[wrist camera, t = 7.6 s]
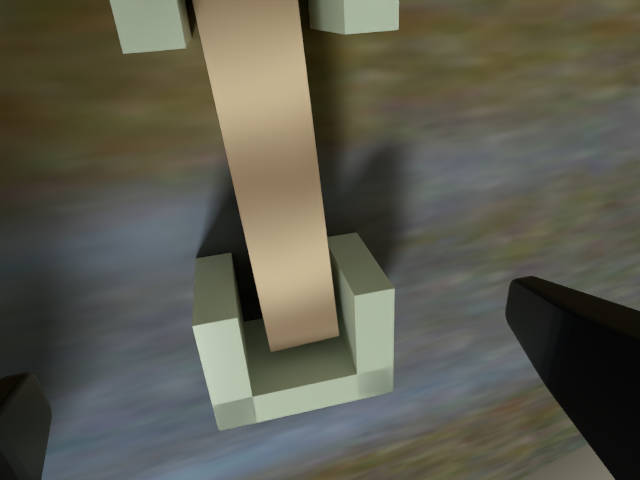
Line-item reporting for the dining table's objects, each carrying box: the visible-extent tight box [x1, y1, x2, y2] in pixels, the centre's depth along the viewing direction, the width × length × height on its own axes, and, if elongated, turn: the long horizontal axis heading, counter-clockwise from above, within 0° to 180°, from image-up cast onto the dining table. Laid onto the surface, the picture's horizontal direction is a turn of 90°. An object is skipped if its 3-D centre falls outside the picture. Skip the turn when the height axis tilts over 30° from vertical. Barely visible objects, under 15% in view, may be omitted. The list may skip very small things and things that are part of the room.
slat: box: [192, 0, 339, 352], centre depth 17 cm, size 15×3×4 cm, turn 7°
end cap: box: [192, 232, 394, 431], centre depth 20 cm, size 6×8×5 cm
